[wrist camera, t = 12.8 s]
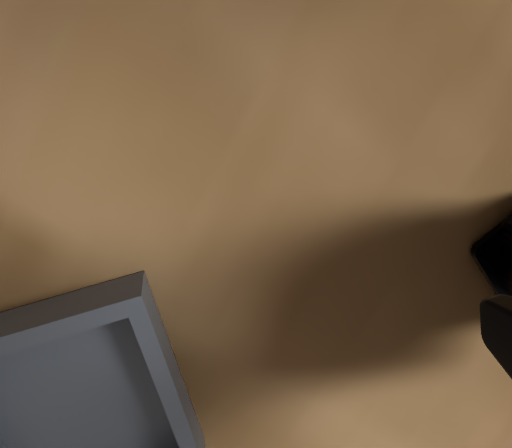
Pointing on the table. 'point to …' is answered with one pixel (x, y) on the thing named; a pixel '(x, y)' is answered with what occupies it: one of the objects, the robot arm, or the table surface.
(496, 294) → the robot arm
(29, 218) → the table surface
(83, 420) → the rack
